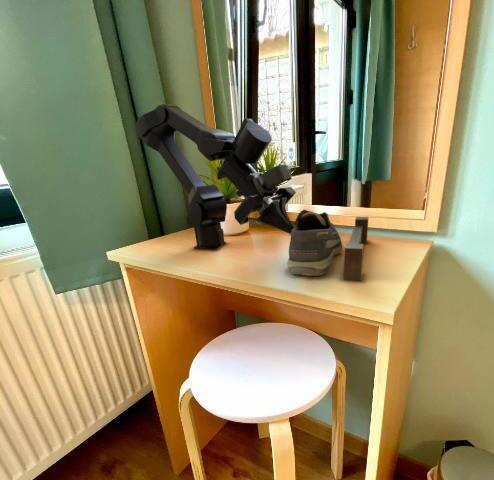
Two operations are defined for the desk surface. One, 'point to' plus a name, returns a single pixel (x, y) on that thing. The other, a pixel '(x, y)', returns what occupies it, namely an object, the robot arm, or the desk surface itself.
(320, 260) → the boat shoe
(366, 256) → the desk surface
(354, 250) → the rail
